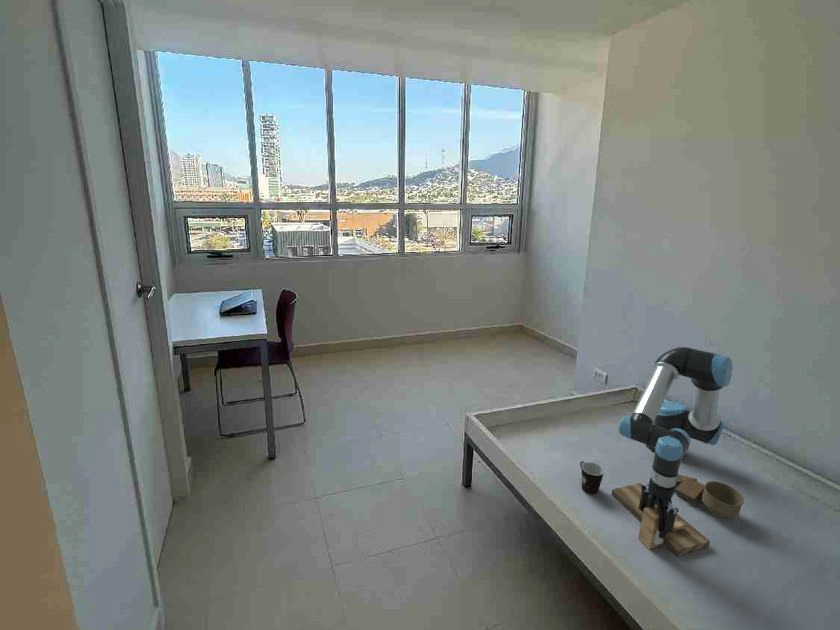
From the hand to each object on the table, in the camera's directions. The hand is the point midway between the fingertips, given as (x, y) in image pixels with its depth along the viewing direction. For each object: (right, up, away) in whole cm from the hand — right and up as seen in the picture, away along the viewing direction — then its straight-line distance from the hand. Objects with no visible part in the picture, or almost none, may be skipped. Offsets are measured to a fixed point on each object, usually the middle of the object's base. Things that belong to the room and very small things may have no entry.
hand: (651, 537), depth 152 cm
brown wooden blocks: (+28, +5, +27) cm, 39 cm away
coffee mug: (-11, +6, +29) cm, 31 cm away
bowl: (+34, +2, +14) cm, 37 cm away
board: (+8, +1, +11) cm, 14 cm away
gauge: (+6, -1, +2) cm, 6 cm away
